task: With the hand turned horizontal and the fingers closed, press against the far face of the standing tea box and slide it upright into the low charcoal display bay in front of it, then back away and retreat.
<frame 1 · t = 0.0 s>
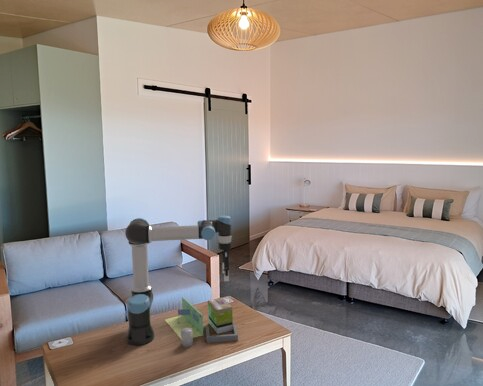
hand: (225, 276, 235), 28 cm above the table, tool pointing down, fingers open, 13 cm apart
tea box: (220, 327, 232), on the table
display stand: (183, 328, 233), on the table
grey rounded cylinder: (187, 344, 213), on the table
display bay: (221, 335, 222), on the table
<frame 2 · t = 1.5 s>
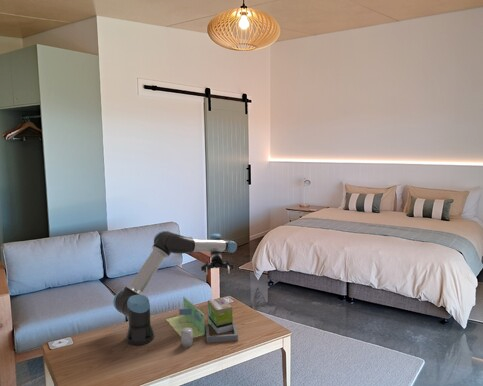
hand: (217, 272, 242), 29 cm above the table, tool horizontal, fingers open, 13 cm apart
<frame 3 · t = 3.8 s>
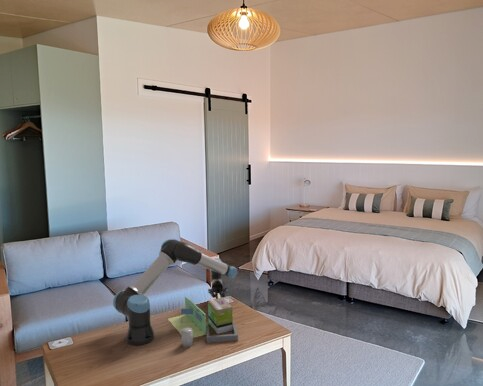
hand: (219, 300, 243), 11 cm above the table, tool horizontal, fingers closed
display stand: (186, 327, 234), on the table
everything else where it was.
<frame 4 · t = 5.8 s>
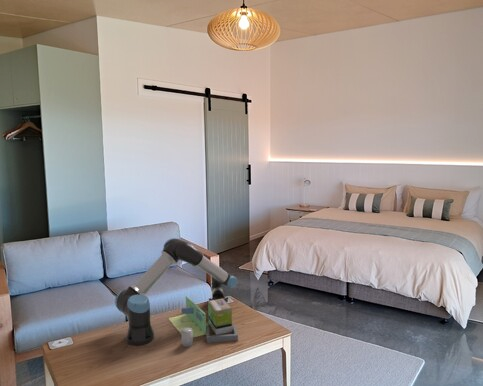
hand: (220, 310, 238), 7 cm above the table, tool horizontal, fingers closed
tea box: (220, 328, 231), on the table, touching gripper
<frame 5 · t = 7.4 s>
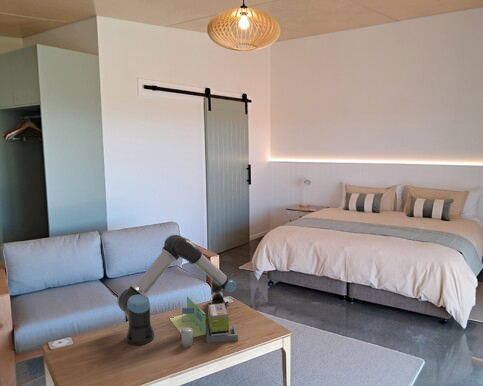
hand: (220, 315, 231), 7 cm above the table, tool horizontal, fingers closed
tea box: (218, 333, 224), on the table, touching display bay, gripper
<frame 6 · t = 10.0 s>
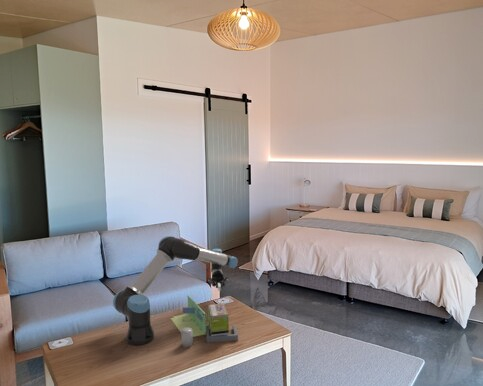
hand: (219, 288, 243), 18 cm above the table, tool horizontal, fingers closed
tea box: (218, 333, 224), on the table
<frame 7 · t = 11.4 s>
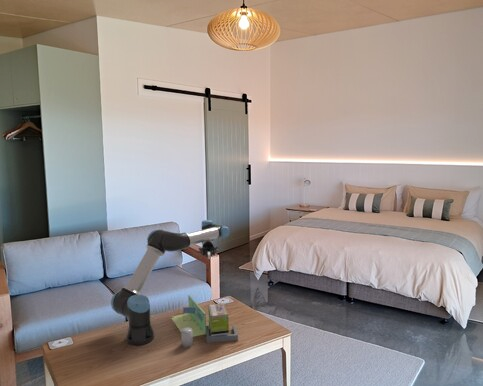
hand: (209, 256, 241), 38 cm above the table, tool horizontal, fingers closed
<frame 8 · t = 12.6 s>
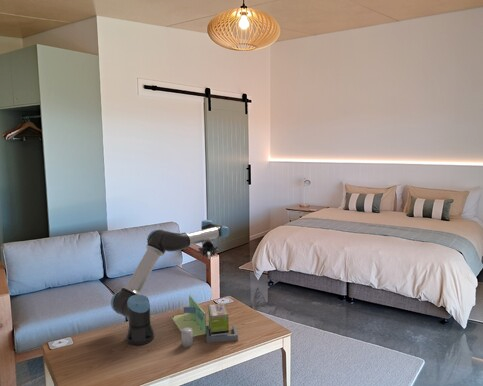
hand: (209, 256, 242), 38 cm above the table, tool horizontal, fingers closed
at the end: tea box 2.2 cm from the target spot on the display bay, point 0.0 cm above the display bay's base; tea box tilted 0°; tea box moved 8.0 cm from its start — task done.
